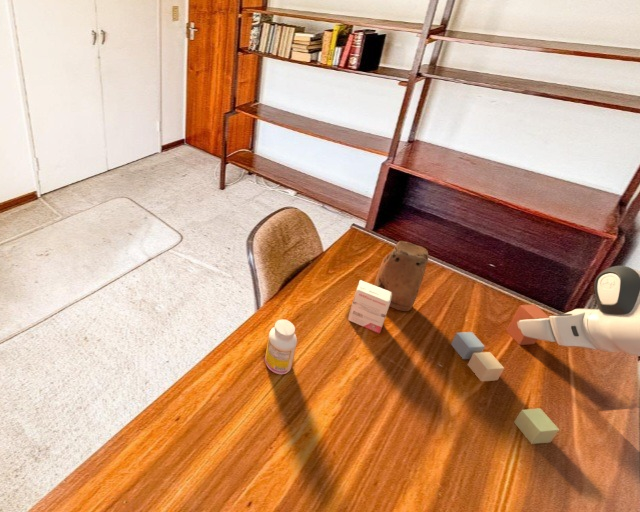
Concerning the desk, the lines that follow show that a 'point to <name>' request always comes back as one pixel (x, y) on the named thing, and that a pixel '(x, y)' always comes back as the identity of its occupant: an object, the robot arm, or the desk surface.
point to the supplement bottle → (281, 347)
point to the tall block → (523, 314)
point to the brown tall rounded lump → (402, 274)
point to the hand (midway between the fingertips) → (536, 324)
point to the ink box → (370, 306)
